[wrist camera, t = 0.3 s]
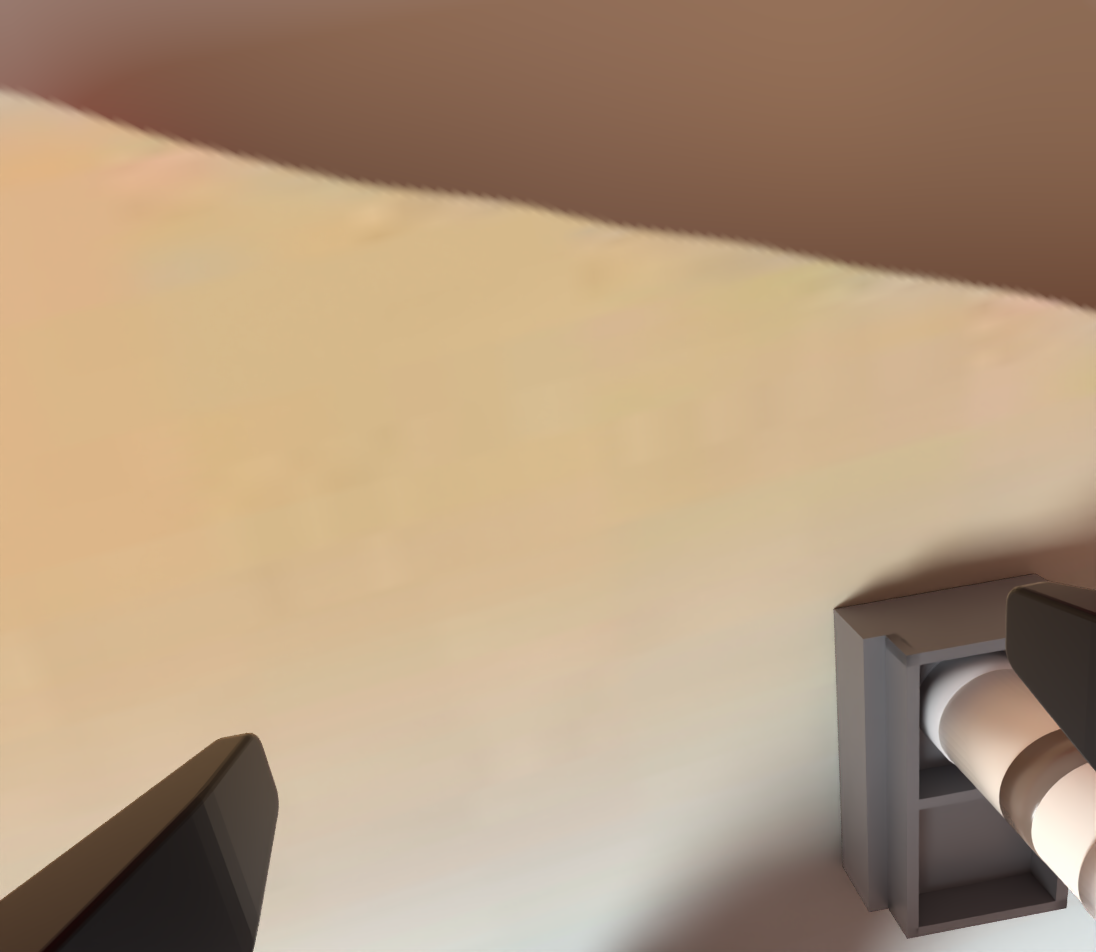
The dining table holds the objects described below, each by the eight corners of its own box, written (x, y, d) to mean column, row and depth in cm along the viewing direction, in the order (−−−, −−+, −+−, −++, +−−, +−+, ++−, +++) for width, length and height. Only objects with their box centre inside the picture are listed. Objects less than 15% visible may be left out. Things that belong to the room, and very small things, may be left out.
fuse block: (1033, 831, 28) (1100, 901, 25) (842, 866, 28) (887, 942, 25) (1049, 571, 25) (1128, 615, 22) (833, 609, 25) (883, 659, 21)
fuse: (1023, 735, 24) (1271, 958, 17) (914, 755, 24) (1113, 988, 16) (1029, 637, 23) (1296, 827, 15) (914, 658, 23) (1128, 859, 15)
